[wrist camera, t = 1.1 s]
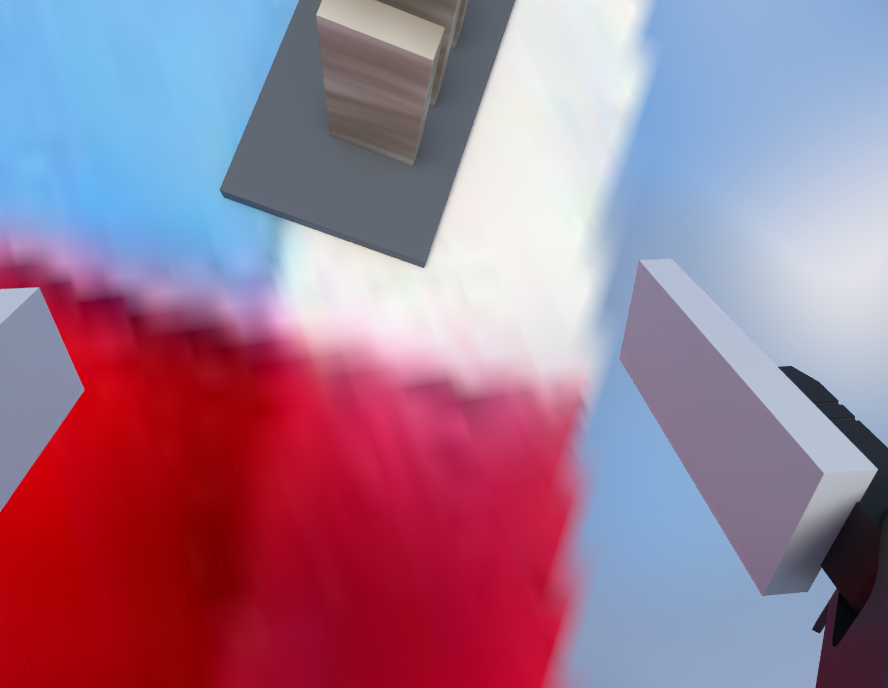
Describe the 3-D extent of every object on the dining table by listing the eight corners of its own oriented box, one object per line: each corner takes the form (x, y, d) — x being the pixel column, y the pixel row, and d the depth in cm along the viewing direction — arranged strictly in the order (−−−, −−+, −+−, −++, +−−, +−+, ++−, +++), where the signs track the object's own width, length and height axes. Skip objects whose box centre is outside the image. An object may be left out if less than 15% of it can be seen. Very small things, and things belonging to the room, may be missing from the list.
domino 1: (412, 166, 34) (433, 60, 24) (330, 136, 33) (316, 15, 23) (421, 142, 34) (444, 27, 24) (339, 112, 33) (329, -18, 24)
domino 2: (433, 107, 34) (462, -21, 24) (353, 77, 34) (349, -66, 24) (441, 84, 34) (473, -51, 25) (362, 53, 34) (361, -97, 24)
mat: (423, 267, 34) (425, 263, 33) (224, 197, 33) (219, 189, 32) (561, -137, 39) (566, -152, 38) (393, -209, 38) (393, -226, 37)
